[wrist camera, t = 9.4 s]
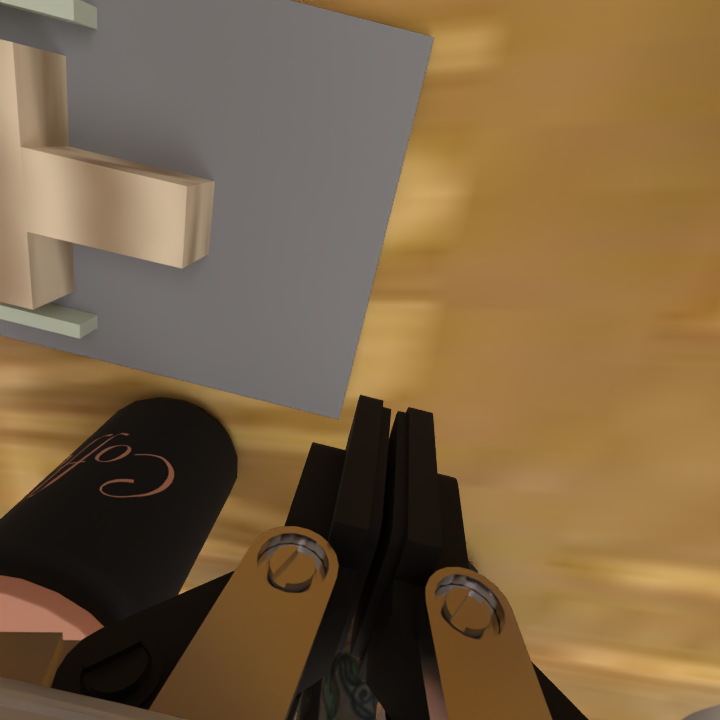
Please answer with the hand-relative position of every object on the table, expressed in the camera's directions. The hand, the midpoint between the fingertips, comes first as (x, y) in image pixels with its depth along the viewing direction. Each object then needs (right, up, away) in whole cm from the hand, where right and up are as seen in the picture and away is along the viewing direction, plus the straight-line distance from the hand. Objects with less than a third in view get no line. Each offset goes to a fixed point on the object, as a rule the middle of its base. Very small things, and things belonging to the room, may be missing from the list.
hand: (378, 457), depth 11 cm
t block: (-16, +13, +19) cm, 28 cm away
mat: (-12, +12, +20) cm, 26 cm away
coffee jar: (-15, -5, +28) cm, 32 cm away
